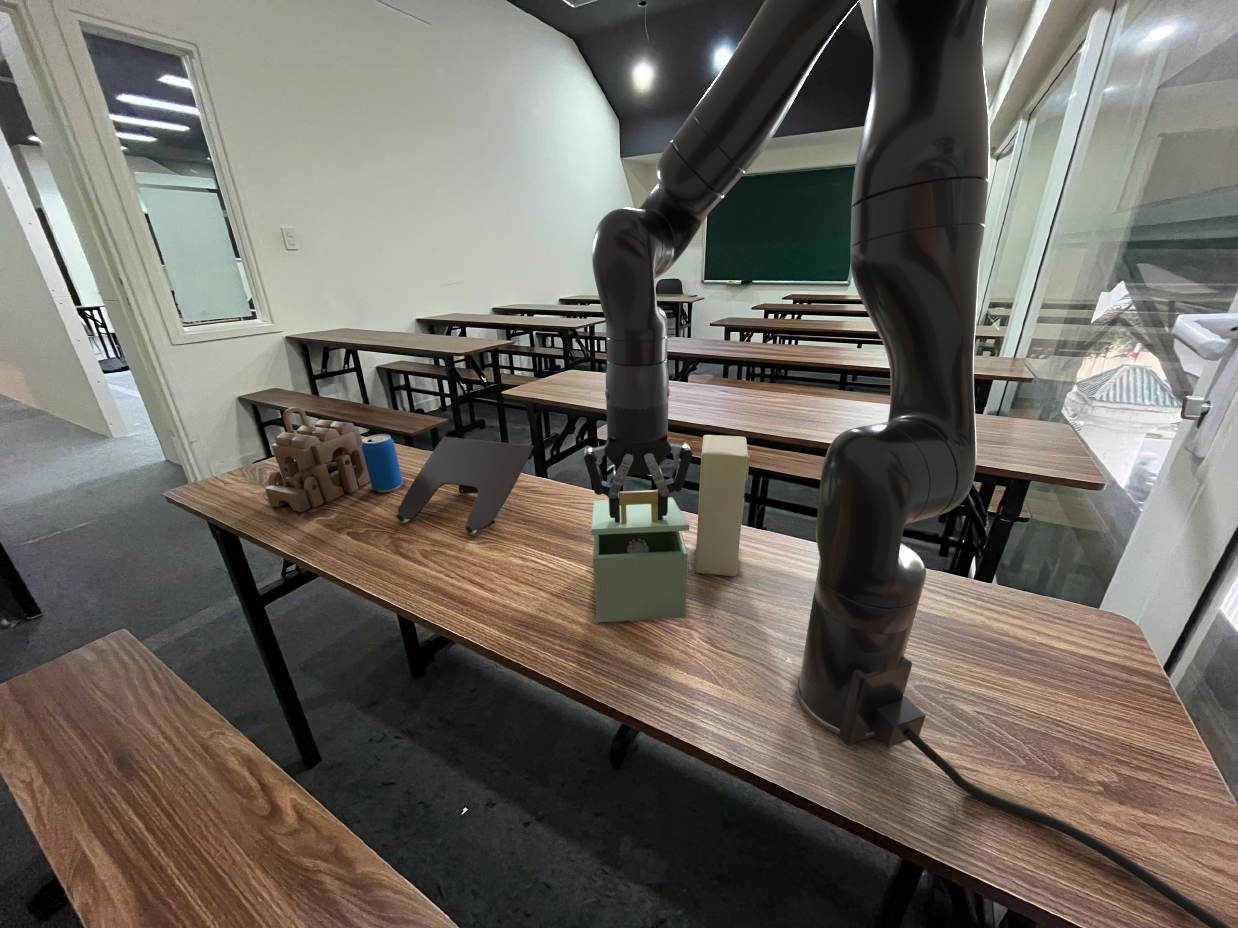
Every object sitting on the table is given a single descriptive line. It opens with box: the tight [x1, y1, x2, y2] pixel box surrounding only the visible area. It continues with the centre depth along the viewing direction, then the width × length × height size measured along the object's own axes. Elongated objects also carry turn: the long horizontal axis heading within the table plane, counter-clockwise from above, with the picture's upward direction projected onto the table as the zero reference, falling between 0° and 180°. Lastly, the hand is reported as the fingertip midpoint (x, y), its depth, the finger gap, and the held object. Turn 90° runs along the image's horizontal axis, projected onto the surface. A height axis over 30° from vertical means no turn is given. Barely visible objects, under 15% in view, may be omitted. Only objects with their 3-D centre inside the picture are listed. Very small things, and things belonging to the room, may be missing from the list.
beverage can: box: [361, 433, 404, 493], centre depth 107 cm, size 6×6×12 cm
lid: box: [590, 489, 690, 536], centre depth 68 cm, size 15×13×5 cm
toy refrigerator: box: [694, 434, 751, 577], centre depth 76 cm, size 8×7×21 cm
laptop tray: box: [395, 436, 535, 536], centre depth 100 cm, size 23×23×9 cm
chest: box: [592, 531, 689, 623], centre depth 72 cm, size 15×13×11 cm
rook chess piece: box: [627, 539, 649, 554], centre depth 71 cm, size 4×4×8 cm
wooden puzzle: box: [264, 406, 371, 513], centre depth 107 cm, size 22×15×19 cm, turn 158°
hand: (638, 517), depth 65 cm, fingers closed on lid, 5 cm apart
